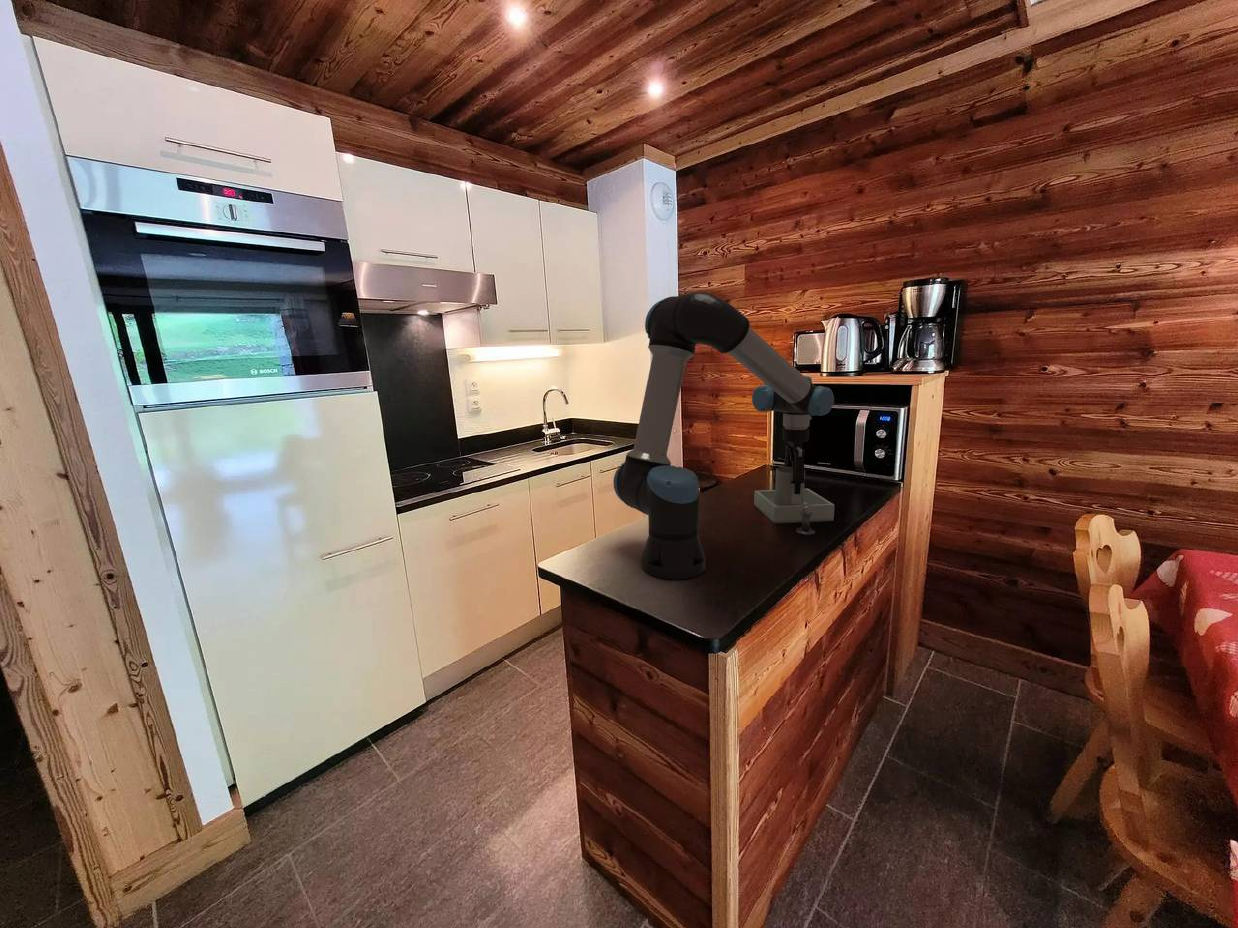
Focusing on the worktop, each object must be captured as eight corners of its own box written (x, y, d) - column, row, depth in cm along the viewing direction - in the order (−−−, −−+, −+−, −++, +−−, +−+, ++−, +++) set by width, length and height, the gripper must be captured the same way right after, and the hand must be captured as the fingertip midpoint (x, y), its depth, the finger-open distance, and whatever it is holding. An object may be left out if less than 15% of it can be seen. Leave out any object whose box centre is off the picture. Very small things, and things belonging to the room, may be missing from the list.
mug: (794, 510, 144) (796, 474, 141) (769, 504, 150) (770, 470, 148) (814, 501, 151) (816, 467, 149) (789, 496, 158) (791, 463, 155)
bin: (773, 523, 141) (774, 507, 140) (754, 505, 159) (754, 490, 158) (833, 520, 142) (834, 504, 141) (807, 502, 160) (808, 488, 159)
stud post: (800, 535, 131) (801, 507, 130) (792, 529, 136) (794, 502, 134) (818, 535, 131) (819, 506, 130) (810, 528, 136) (811, 501, 135)
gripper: (819, 433, 133) (814, 510, 138) (800, 422, 155) (796, 489, 160) (791, 433, 134) (787, 509, 139) (776, 422, 156) (773, 489, 161)
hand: (792, 498), depth 150 cm, fingers closed on mug, 9 cm apart
